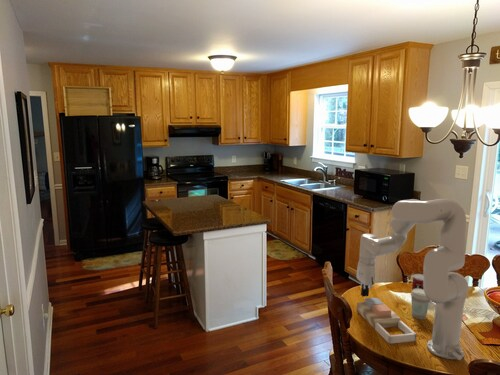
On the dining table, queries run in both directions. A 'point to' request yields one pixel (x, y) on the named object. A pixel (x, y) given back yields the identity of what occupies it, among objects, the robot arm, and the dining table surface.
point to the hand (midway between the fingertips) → (364, 295)
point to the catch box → (398, 338)
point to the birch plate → (373, 318)
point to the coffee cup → (419, 303)
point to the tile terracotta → (381, 310)
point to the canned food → (417, 281)
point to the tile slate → (372, 302)
